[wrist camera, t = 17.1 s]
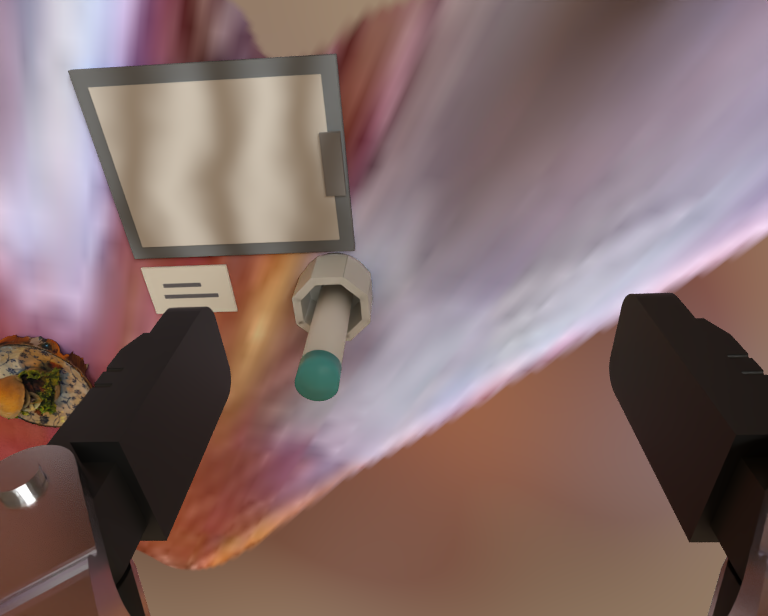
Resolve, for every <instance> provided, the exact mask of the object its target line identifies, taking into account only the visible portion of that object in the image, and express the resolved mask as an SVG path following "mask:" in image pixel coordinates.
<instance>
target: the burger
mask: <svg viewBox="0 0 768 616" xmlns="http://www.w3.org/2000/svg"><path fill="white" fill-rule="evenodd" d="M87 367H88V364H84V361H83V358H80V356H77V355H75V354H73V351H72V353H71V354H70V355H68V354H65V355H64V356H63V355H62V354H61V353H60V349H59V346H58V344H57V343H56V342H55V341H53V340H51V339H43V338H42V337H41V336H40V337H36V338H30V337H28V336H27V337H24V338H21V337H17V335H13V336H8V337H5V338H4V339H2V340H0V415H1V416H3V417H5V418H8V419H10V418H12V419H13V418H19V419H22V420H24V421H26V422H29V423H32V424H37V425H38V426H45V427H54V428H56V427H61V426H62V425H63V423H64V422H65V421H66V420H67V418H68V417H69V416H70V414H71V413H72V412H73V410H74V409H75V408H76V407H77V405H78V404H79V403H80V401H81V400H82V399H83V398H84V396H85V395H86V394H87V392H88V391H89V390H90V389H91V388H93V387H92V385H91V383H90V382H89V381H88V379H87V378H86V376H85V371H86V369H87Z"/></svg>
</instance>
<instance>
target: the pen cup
mask: <svg viewBox="0 0 768 616" xmlns="http://www.w3.org/2000/svg"><path fill="white" fill-rule="evenodd" d="M336 284H341V285H342V286H344V287H345V288H346V289H347V290H349V291H350V292H351V293H353V298H352V304H351V310H350V316H349V323H348V329H347V335H346V341H350V340H352V339H353V338H354V337H355V336H356V335H357V334H358V333H359V332H360V331H362V330H363V329H364V328H365V327H366V326H367V325H368V324H369V323H370V320H371V310H372V300H373V296H372V280H371V274H370V272H369V271H368V270H367V269H366V267H365V266H364V265H363V264H362V263H361V262H360V261H358V260H357V259H355V258H353V257H351V256H349V255H346V254H341V253H329V254H324V255H321V256H317V258H315V259H314V260H313V261H312V262H311V263H309V265H308V266H307V267H306V269H305V271H304V272H303V273H302V274H301V275H300V277H299V280H298V283H297V286H296V288H295V291H294V294H293V297H292V303H293V308H294V314H295V319H296V324H297V325H298V326H299V327H301V328H302V329H304V330H305V331H306V332H308V333H309V329H310V326H311V322H312V318H313V315H314V311H315V307H316V304H317V300H318V296H319V293H320V289H321V285H336Z"/></svg>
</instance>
